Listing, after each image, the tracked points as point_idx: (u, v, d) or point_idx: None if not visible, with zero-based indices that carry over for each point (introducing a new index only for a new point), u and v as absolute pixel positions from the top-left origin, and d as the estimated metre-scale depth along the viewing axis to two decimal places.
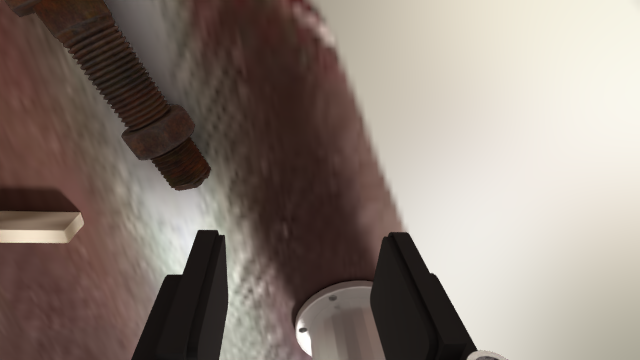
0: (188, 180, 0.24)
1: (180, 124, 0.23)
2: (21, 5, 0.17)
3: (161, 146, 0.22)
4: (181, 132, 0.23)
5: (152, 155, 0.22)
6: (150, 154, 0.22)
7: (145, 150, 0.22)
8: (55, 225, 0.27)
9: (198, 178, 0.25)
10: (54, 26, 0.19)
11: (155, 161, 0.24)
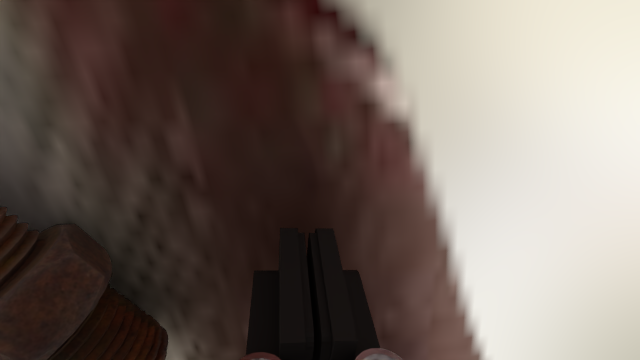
0: None
1: (56, 296, 0.09)
2: None
3: None
4: (59, 318, 0.09)
5: None
6: None
7: None
8: None
9: None
10: None
11: None
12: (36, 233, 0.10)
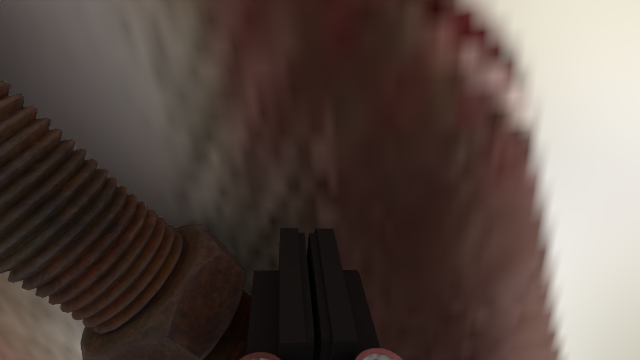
0: None
1: (213, 291, 0.09)
2: None
3: None
4: (218, 313, 0.09)
5: None
6: None
7: None
8: None
9: None
10: None
11: None
12: (178, 234, 0.10)
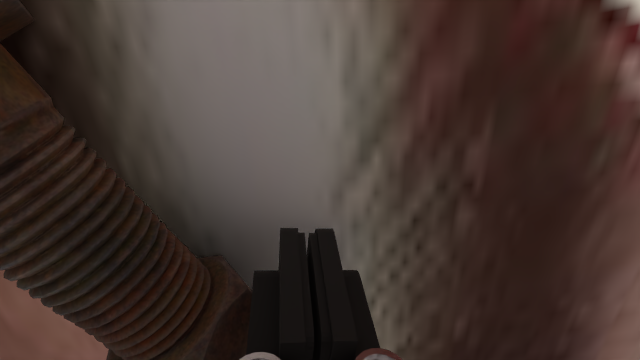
0: None
1: (238, 328, 0.10)
2: None
3: None
4: (241, 348, 0.10)
5: None
6: None
7: None
8: None
9: None
10: None
11: None
12: (204, 267, 0.11)
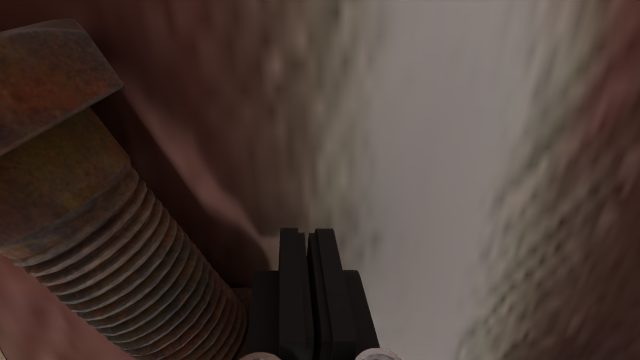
0: None
1: None
2: None
3: None
4: None
5: None
6: None
7: None
8: None
9: None
10: None
11: None
12: (239, 301, 0.12)
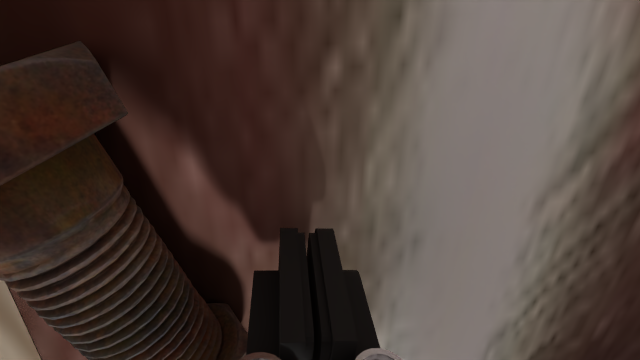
0: None
1: None
2: None
3: None
4: None
5: None
6: None
7: None
8: None
9: None
10: None
11: None
12: (215, 318, 0.12)
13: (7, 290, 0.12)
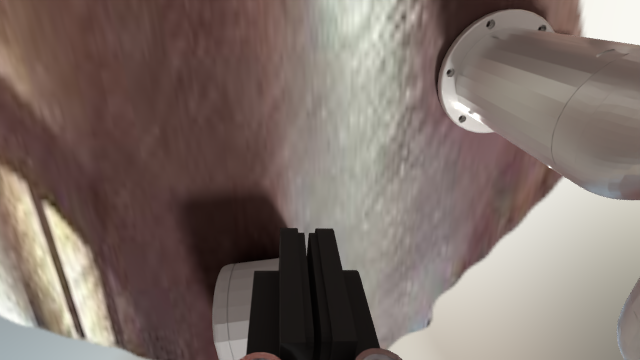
0: None
1: None
2: None
3: None
4: None
5: None
6: None
7: None
8: None
9: None
10: None
11: None
12: None
13: None
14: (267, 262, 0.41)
